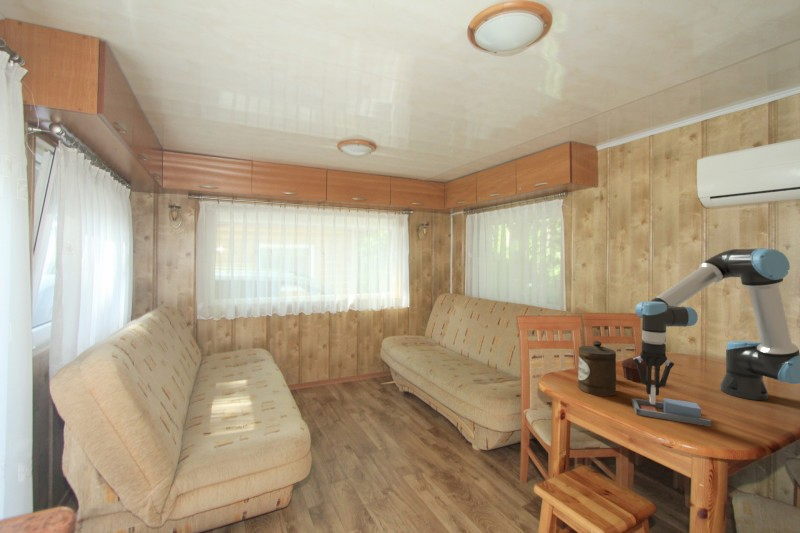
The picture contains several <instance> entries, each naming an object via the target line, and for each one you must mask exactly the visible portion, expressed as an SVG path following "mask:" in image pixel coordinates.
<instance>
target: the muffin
mask: <svg viewBox="0 0 800 533" xmlns="http://www.w3.org/2000/svg"><path fill="white" fill-rule="evenodd" d="M633 358H634V357H629V358H627V359H624V360H623V361H622V362H621V366H622V371H623V372H622V373H623V378H624V379H625V380H627V381H630V382H633V383H634V382H635V383H642V382H641V379H640V375H639V372H638V368H637V364H636V362H635V361H634V359H633ZM640 364H641V367H642V370H643V374H644V378H645V380H646V372H647V366H646V364H645V362H644V361H643V360H642V359H641V363H640Z"/></svg>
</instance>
